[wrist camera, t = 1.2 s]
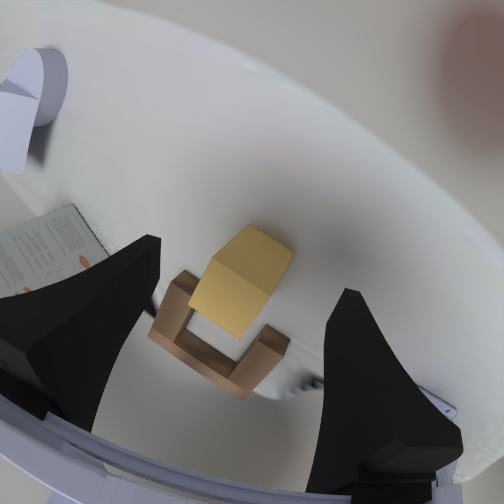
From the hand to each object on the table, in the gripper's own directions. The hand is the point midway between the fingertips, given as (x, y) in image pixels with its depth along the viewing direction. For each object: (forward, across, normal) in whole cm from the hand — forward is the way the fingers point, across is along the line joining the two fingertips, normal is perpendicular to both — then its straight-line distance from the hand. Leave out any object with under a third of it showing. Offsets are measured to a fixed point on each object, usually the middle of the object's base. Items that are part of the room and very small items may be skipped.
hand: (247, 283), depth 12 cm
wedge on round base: (+18, +28, 0) cm, 33 cm away
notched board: (+10, +1, +15) cm, 18 cm away
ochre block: (+11, 0, +7) cm, 13 cm away
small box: (+14, +19, +14) cm, 27 cm away
